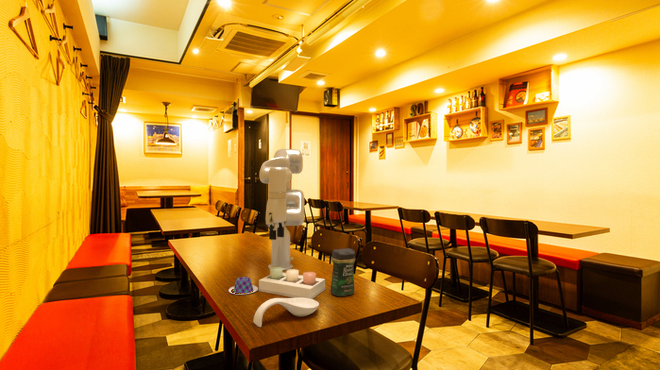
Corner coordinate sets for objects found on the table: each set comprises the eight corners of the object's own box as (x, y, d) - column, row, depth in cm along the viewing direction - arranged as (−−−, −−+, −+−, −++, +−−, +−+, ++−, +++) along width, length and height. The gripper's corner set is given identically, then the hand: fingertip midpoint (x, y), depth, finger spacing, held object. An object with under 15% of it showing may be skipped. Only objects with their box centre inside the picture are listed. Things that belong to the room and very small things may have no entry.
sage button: (274, 277, 149) (274, 266, 149) (284, 279, 147) (284, 267, 146) (267, 280, 144) (267, 269, 144) (278, 282, 142) (278, 270, 142)
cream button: (290, 280, 146) (290, 268, 145) (300, 281, 143) (300, 270, 143) (283, 283, 141) (283, 271, 141) (294, 285, 139) (294, 273, 139)
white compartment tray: (276, 281, 153) (277, 271, 153) (324, 289, 144) (325, 279, 144) (258, 290, 141) (258, 280, 140) (310, 300, 131) (310, 289, 131)
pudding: (227, 287, 144) (227, 275, 144) (255, 285, 149) (255, 273, 149) (229, 297, 133) (229, 284, 133) (260, 294, 137) (260, 281, 137)
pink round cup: (306, 282, 142) (306, 271, 142) (317, 284, 140) (317, 272, 140) (300, 286, 138) (300, 274, 137) (312, 288, 135) (312, 276, 135)
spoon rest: (306, 304, 128) (306, 285, 128) (325, 314, 119) (325, 294, 119) (248, 320, 113) (248, 299, 113) (265, 333, 104) (265, 310, 104)
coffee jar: (337, 298, 134) (338, 252, 133) (327, 292, 141) (328, 248, 140) (357, 294, 138) (358, 249, 138) (347, 288, 145) (348, 246, 145)
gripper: (280, 194, 154) (279, 234, 154) (258, 196, 138) (257, 240, 138) (294, 195, 151) (294, 235, 151) (273, 197, 135) (273, 242, 135)
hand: (276, 237), depth 145 cm, fingers open, 5 cm apart
